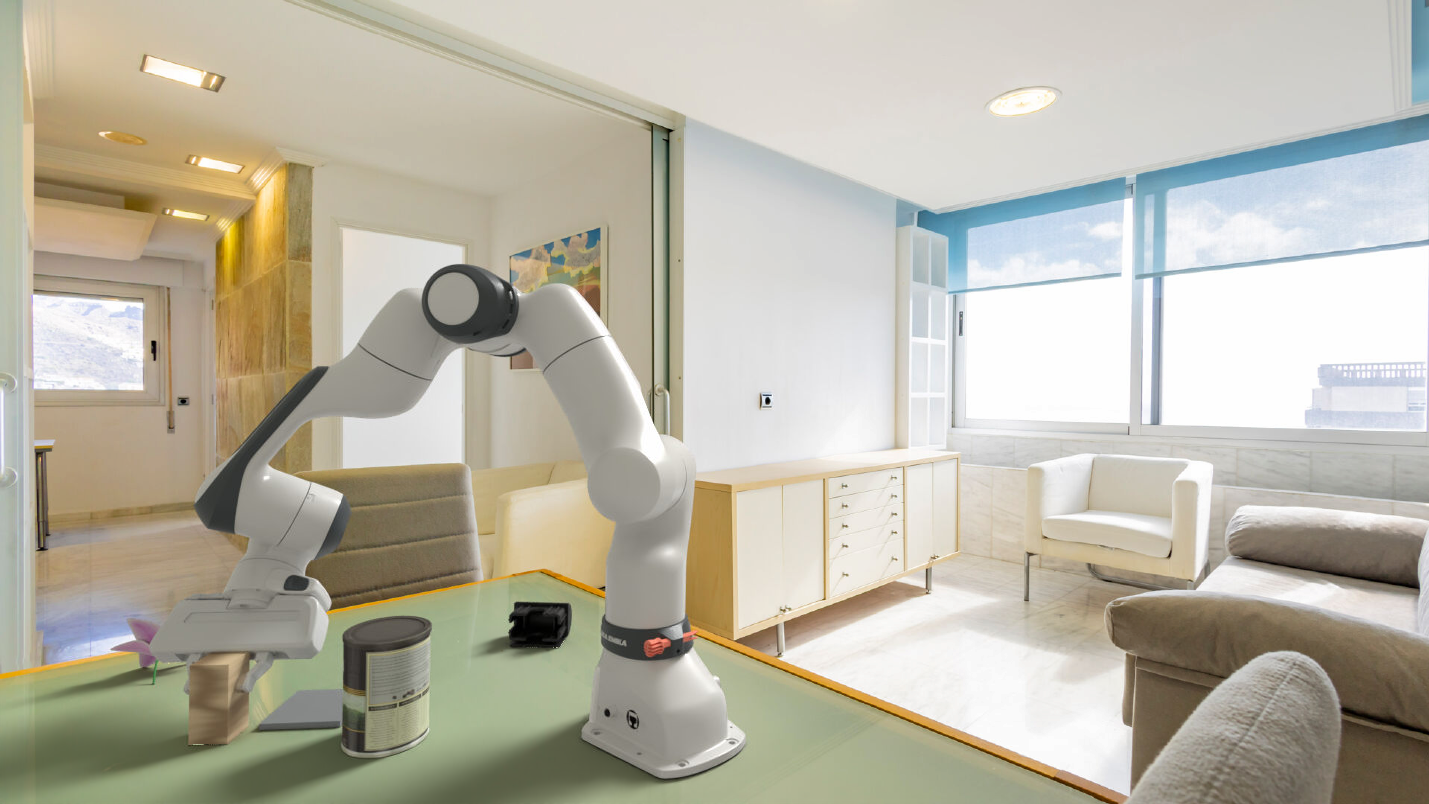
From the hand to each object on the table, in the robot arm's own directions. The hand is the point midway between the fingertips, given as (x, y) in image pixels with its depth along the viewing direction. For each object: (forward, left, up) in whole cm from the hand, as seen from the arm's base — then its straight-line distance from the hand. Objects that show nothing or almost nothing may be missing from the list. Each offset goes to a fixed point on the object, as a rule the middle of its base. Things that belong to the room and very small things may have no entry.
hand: (216, 692), depth 84 cm
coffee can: (-13, -17, -6) cm, 22 cm away
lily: (+29, +5, -6) cm, 30 cm away
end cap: (+7, -47, -6) cm, 48 cm away
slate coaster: (+1, -11, -6) cm, 13 cm away
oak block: (+1, 0, -6) cm, 6 cm away
